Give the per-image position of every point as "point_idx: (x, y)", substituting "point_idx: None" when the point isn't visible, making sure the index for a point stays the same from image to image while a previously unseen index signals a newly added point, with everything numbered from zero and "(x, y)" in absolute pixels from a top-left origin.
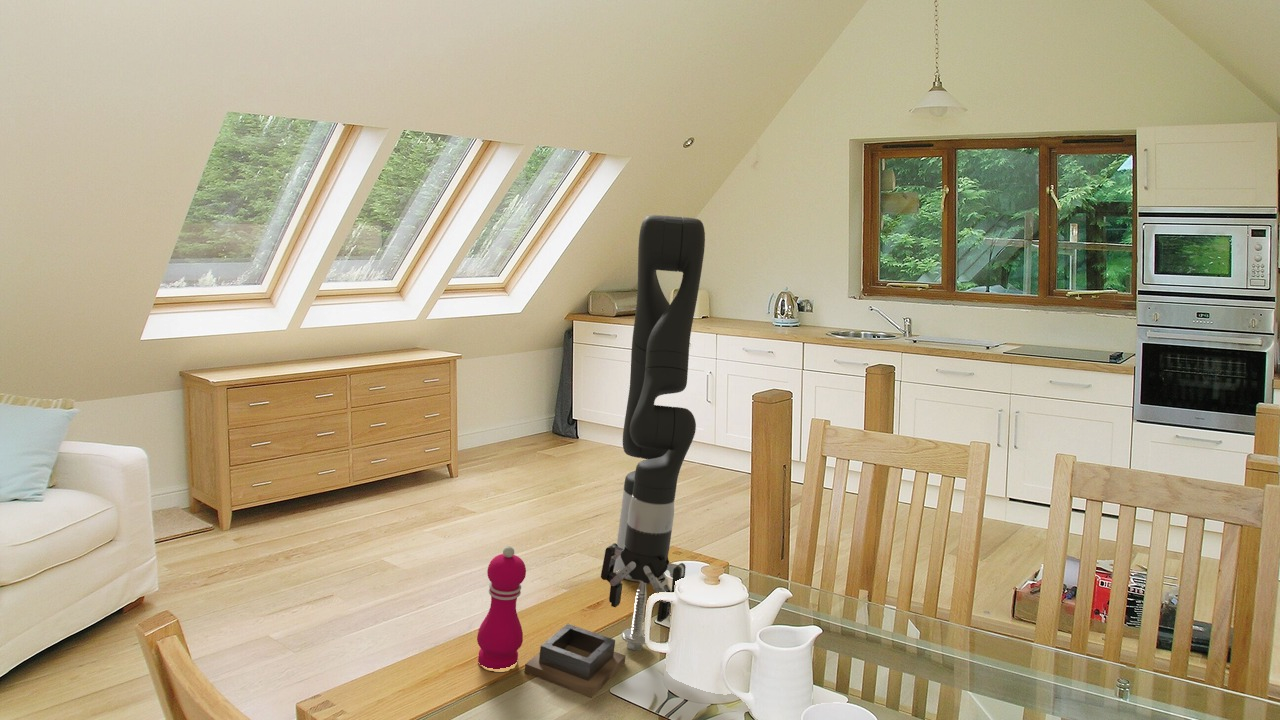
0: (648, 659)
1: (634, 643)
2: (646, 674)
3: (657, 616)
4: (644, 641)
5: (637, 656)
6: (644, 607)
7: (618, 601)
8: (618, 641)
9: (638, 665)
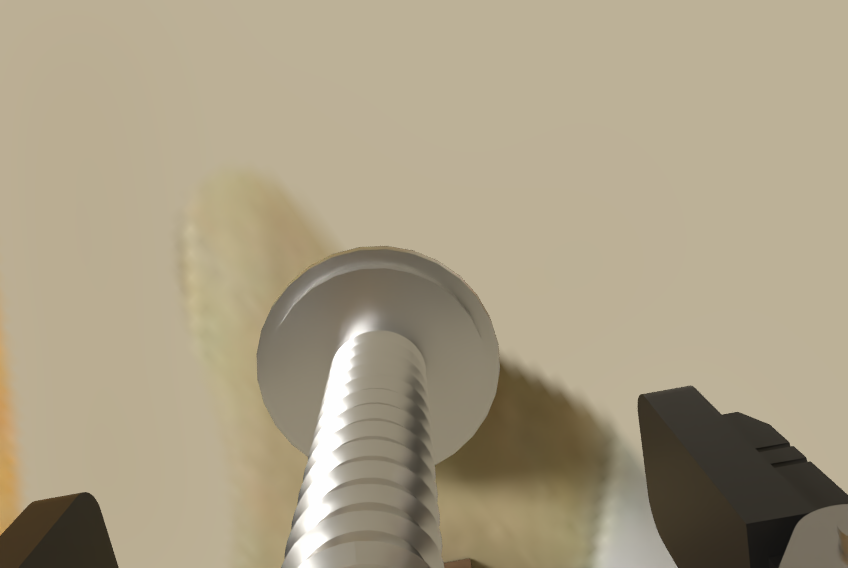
0: (555, 397)
1: (438, 458)
2: (646, 552)
3: (675, 560)
4: (486, 392)
5: None
6: (402, 447)
7: (87, 560)
8: (249, 359)
9: (547, 506)
